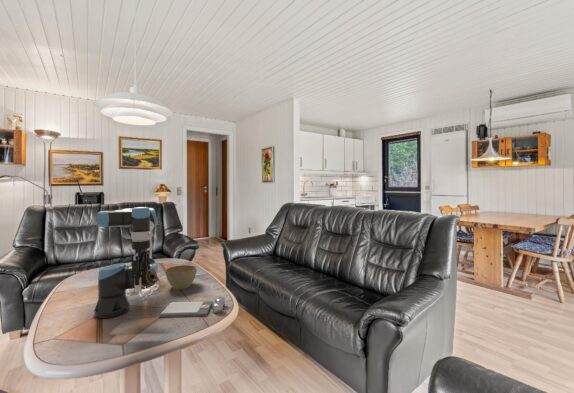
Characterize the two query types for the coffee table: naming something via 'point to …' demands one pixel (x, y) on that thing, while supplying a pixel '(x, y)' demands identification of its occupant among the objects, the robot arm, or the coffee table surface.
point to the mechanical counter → (147, 278)
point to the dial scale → (186, 309)
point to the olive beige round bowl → (181, 276)
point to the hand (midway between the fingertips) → (141, 289)
